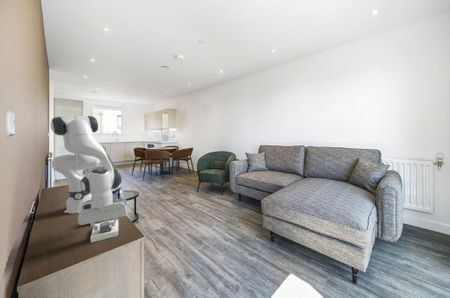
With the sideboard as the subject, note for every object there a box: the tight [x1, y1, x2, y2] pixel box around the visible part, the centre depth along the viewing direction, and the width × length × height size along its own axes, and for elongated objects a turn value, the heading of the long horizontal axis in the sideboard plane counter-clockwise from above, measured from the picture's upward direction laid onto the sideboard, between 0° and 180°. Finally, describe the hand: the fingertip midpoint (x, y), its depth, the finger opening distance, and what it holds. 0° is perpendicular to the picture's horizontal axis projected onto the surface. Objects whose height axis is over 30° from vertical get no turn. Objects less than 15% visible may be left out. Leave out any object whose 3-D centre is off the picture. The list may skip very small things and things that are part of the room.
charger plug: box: [99, 221, 110, 234], centre depth 94 cm, size 4×4×6 cm
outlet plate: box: [90, 218, 119, 243], centre depth 97 cm, size 16×11×2 cm
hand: (104, 228), depth 94 cm, fingers open, 6 cm apart
